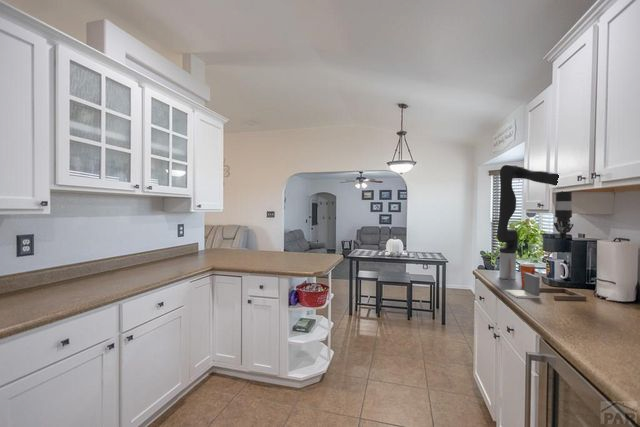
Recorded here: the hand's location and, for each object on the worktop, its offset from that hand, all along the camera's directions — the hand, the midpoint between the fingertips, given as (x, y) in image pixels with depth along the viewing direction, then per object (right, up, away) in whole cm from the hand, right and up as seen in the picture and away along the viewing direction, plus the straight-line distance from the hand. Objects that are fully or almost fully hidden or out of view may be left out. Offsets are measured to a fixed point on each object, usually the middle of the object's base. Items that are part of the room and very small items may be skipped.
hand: (563, 239), depth 174 cm
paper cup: (-14, -29, +9) cm, 34 cm away
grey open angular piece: (-29, -30, -8) cm, 42 cm away
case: (-10, -29, -9) cm, 32 cm away
